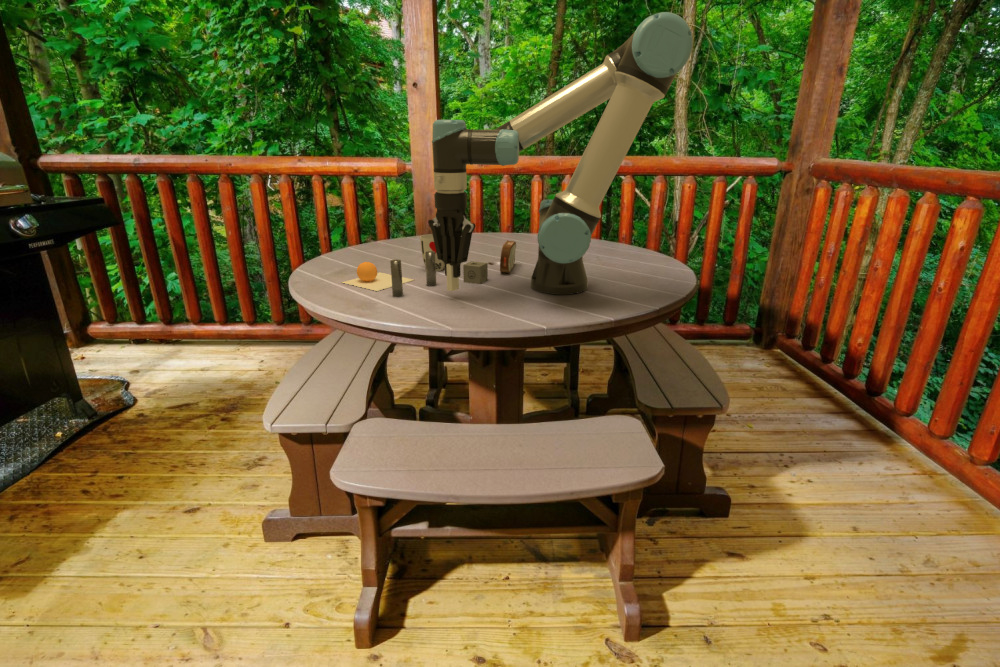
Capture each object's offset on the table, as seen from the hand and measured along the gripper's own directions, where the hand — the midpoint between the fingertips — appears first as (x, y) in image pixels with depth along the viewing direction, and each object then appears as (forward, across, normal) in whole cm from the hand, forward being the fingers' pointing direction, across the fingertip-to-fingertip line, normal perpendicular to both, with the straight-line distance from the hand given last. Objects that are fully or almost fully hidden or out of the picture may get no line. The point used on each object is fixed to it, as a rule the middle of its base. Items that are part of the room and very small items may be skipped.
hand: (453, 289), depth 131 cm
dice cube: (+3, -6, +17) cm, 18 cm away
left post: (+2, -13, -6) cm, 15 cm away
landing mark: (+2, -27, 0) cm, 27 cm away
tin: (+3, -6, +33) cm, 34 cm away
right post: (+2, -13, +6) cm, 15 cm away
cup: (+3, -24, +20) cm, 31 cm away
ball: (0, -29, -2) cm, 29 cm away
